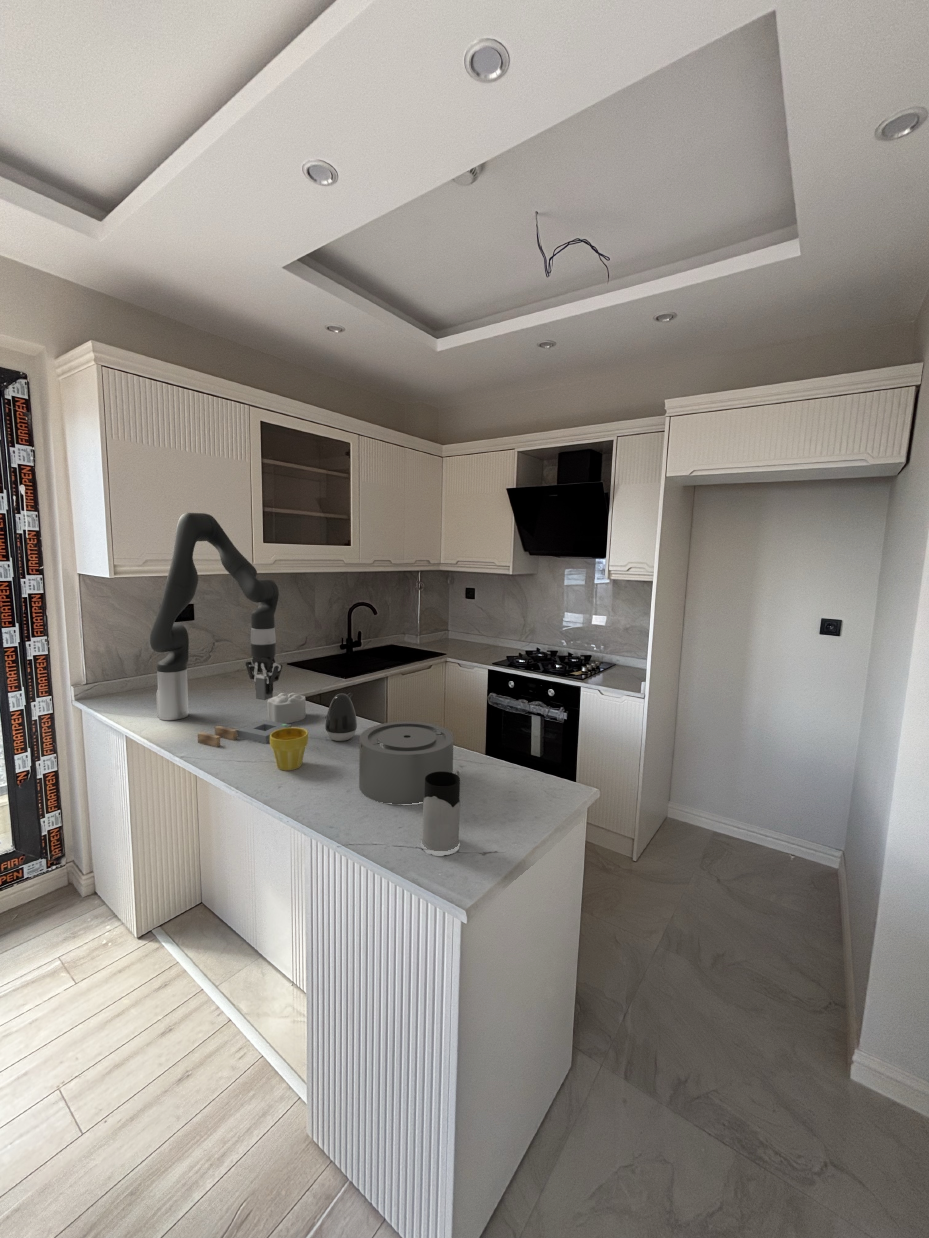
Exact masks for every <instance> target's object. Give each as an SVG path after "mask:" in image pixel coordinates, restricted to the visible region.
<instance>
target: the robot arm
mask: <svg viewBox="0 0 929 1238" xmlns="http://www.w3.org/2000/svg"><path fill="white" fill-rule="evenodd" d="M175 530H176V531H175V539H174V546H173V552H172V557H171V562H170V566H169V567H170V568H169V570H168V573H167V578H166V582H165V585H164V591H163V595H162V599H161V601H160V602H161V603H160V605H159V609H158V612H157V615H156V618H155V620H154V623H153V625H152V629H151V631H150V637H149V644H150V647H151V649H152V650H153V651H154V652H156V653H168V654H167V655H166V657H164V658H163V659H160V660H159V661H158V662H157V664H156V671H157V672H156V674H157V676H156V677H157V678H156V679H157V690H156V693H155V696H156V715H157V717H158V719H159V720H161V721H177V720H181V719H184V718H187V717H188V716H189V699H188V698H189V696H188V672H187V671H188V669H187V666H188V662H189V652H190V651H189V649H190V646H189V644H190V638H189V632H188V630H187V628H186V627H185V626H184V625H183V624H179V623H177V624H175V621H176V619H177V618H178V616H179V615H180V614H181V613H182V612H183V610H185V609H186V607H188V605H189V604H190V603H191V602H192V601H193V599H194V597H195V595H196V591H197V588H198V583H199V574H198V571H197V568H196V566H195V563H194V558H193V557H194V550H195V547H196V544H197V542H207V543H208V544H210V545H212V546H213V547H214V548H215V549H216V550H217V552H218V554H219V557H220V562H221V564H222V566H223V568H224V569H225V571H227V573H228V574H229V575H230V576H231V577H232V578H233V579H234V580H235V581H236V582H237V584H238V586H239V588H240V589H241V592H242V593H243V595H244V597H246V599H247V600H249V601H251V602H253V603H257V604H258V606H257V608H256V609H254V610H252V612H251V613H250V615H251V617H250V618H251V619H250V620H251V621H250V623H251V626H250V627H251V628H250V629H251V630H250V656H251V657H252V659H251V660H248V661H246V662H245V664H244V665H245V666H246V669H247V674H248V676H249V679H250V680H253V681H254V683H255V685H254V687H255V689H254V690H256V678H257V675H258V674H261V673H263V675H264V677H265V679H266V683H267V684H266V694H267V695H269V694H272V692H273V693H274V683H275V682H278V681H279V679H280V676H281V673H282V669H283V665H282V664H278V663H276V660H275V657H276V655H277V647H276V646H277V644H276V643H277V642H276V641H277V640H276V639H277V638H276V630H275V629H276V627H275V624H276V623H275V613H276V610H277V607H278V606H277V605H278V601H279V596H280V590H279V587H278V585H277V583H276V582H275V581H273V580H272V579H258V578H256V577H257V576H258V570H257V568H256V567H255V566H254V565H253V564H252V563H251V562H250V561H249V560H248V559H247V558H246V557H245V556H244V555H243V554H242V553H241V552H240V551H239V550H238V549H237V547H236V546H235V545H234V543H233V542H232V541H231V539H230V537H229V536H228V535H227V534H226V532H225V531H224V529H223V527H222V526H221V525H220V523H219V522H218V521H217V520H216V518H215V517H214V516H213V515H211V514H208V513H206V512H205V513H204V512H185V513H183V514H181V516H180V517H179V519H178V521H177V526H176V529H175ZM269 676H270V679H269Z"/></svg>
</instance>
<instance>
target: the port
mask: <svg viewBox="0 0 929 1238" xmlns="http://www.w3.org/2000/svg"><path fill="white" fill-rule="evenodd" d="M292 725H293V724H290V723H287V724H284V723H279V722H274V721H269V720H268V719H261V720H258V721H256V722H253V723H251V724H249V725H247V726H244V727H241V728H238V729H236V730H237V739H238V738H239V739H243V740H246V741H247V740H248V741H250V742H251V741H253V742H255V743H256V742H257V743H261V744H268V743H270V734H271V733H272V732H273V731H275V730H278V729H282V728H289V727H293V726H292Z"/></svg>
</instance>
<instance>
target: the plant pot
mask: <svg viewBox="0 0 929 1238" xmlns="http://www.w3.org/2000/svg"><path fill="white" fill-rule="evenodd" d="M308 744H309V732H308V730H307V729H305V728H302V727H295V726H294V727H293V726H292V727H289V728H282V729H278V730H275V731H273V732H272V733H271V734H270V742H269V747H270V748H271V749H272V751H273V755H274V759H275V764H276V767H277V769H278V770H281V771H293V770H296V769H299V768H301V766H302V763H303V761H304V754H305V750H306V746H308Z"/></svg>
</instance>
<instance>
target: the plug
mask: <svg viewBox="0 0 929 1238" xmlns="http://www.w3.org/2000/svg"><path fill="white" fill-rule="evenodd" d="M269 679H270V676H269ZM266 684H267V683H266V679H265V677H264V675H263V673H261V674H258V675H257V678H256V686H255V688H256V689H255V699H256V700H262V701H268V699H270V698H273V697H274V696H273V694H274V691H273V692H272V694H269V695H267V694H266Z"/></svg>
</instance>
